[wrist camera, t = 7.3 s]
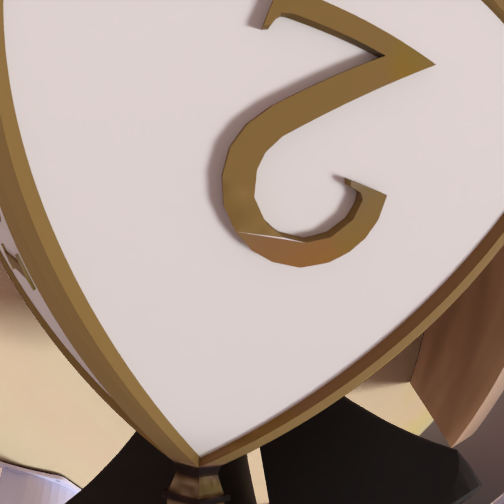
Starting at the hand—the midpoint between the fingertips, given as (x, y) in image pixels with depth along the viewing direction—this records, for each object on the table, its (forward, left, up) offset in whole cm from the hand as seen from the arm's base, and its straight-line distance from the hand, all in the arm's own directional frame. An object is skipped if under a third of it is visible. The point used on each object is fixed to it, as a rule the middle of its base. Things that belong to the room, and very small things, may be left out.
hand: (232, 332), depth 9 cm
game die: (+1, +6, -2) cm, 6 cm away
